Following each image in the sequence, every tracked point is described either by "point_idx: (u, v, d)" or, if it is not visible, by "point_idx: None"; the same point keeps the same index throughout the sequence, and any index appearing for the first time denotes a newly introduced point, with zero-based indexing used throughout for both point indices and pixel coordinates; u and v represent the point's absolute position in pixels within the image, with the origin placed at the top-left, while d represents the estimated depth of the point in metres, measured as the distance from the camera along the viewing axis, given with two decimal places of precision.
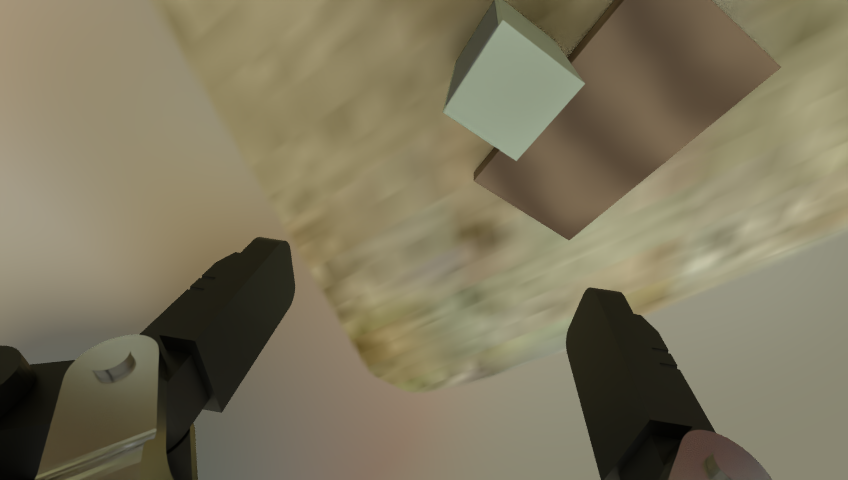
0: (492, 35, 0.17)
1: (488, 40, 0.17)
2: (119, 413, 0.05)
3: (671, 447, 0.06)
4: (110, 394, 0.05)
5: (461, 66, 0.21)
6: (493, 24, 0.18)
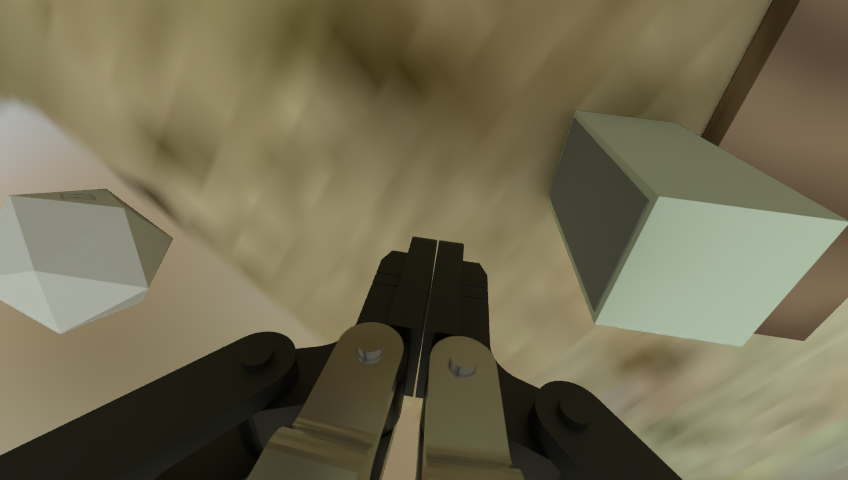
0: (645, 217, 0.10)
1: (640, 224, 0.11)
2: (358, 398, 0.06)
3: None
4: (359, 376, 0.06)
5: (578, 227, 0.15)
6: (625, 187, 0.12)
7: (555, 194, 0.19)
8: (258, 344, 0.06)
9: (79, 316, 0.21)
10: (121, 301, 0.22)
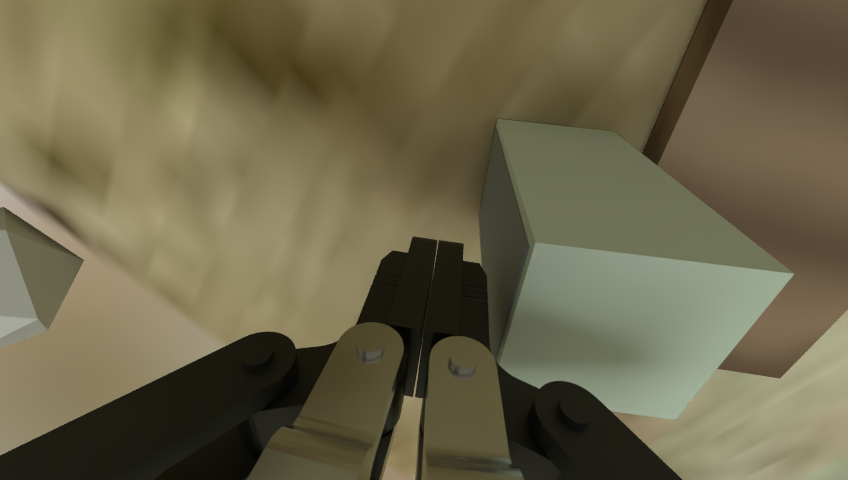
0: (526, 268, 0.08)
1: (521, 276, 0.08)
2: (358, 398, 0.06)
3: None
4: (359, 376, 0.06)
5: (489, 262, 0.13)
6: (516, 221, 0.09)
7: (481, 216, 0.17)
8: (258, 344, 0.06)
9: None
10: (5, 334, 0.20)
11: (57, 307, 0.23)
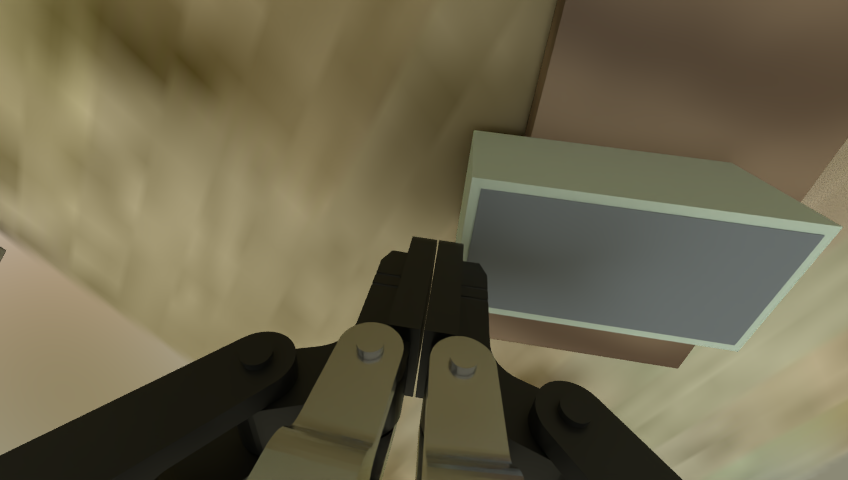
0: (818, 249, 0.10)
1: (809, 257, 0.10)
2: (358, 398, 0.06)
3: None
4: (358, 375, 0.06)
5: (630, 302, 0.12)
6: (760, 235, 0.10)
7: (494, 294, 0.12)
8: (258, 344, 0.06)
9: None
10: None
11: None
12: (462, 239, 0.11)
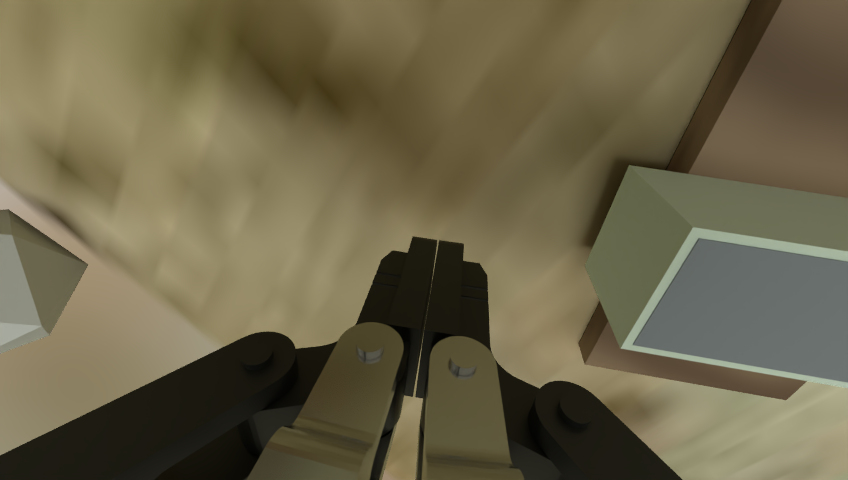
0: None
1: None
2: (358, 398, 0.06)
3: None
4: (359, 375, 0.06)
5: (821, 351, 0.12)
6: None
7: (674, 338, 0.12)
8: (258, 344, 0.06)
9: None
10: (8, 341, 0.19)
11: (60, 312, 0.23)
12: (659, 285, 0.11)
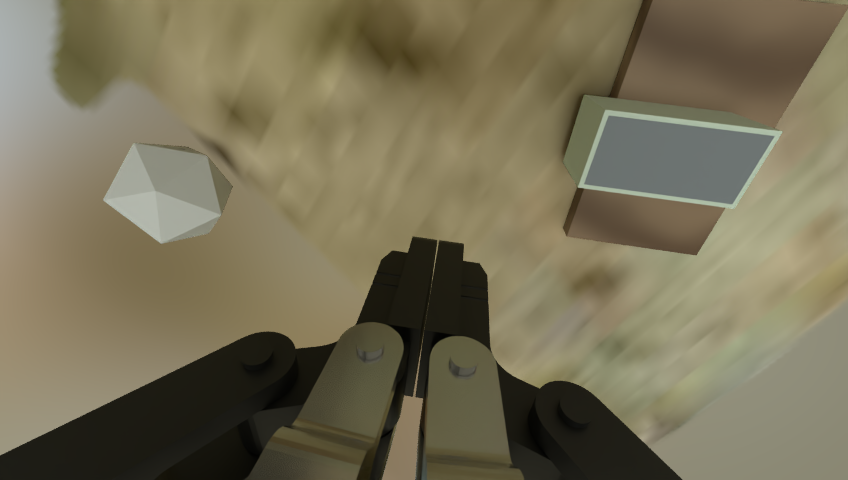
0: (772, 144, 0.21)
1: (768, 148, 0.21)
2: (358, 398, 0.06)
3: None
4: (359, 376, 0.06)
5: (678, 179, 0.23)
6: (744, 137, 0.21)
7: (605, 177, 0.23)
8: (258, 344, 0.06)
9: (175, 231, 0.30)
10: (202, 223, 0.30)
11: None
12: (593, 144, 0.22)
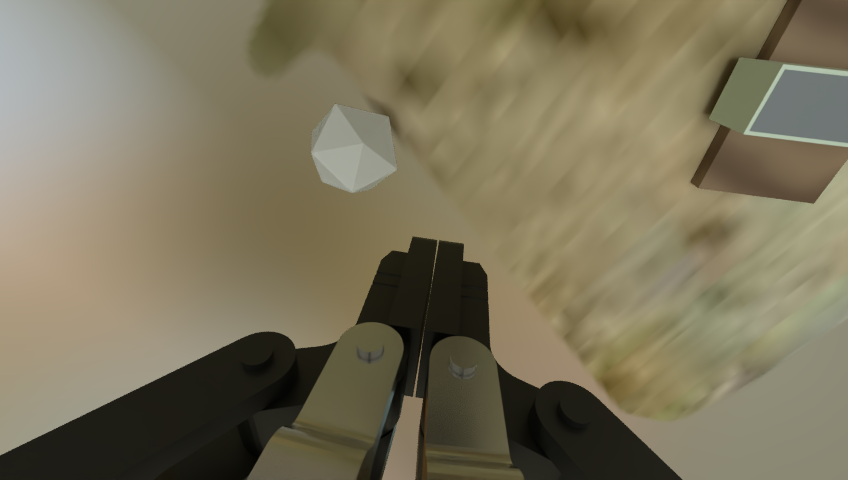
0: None
1: None
2: (358, 398, 0.06)
3: None
4: (359, 376, 0.06)
5: (834, 125, 0.27)
6: None
7: (769, 124, 0.27)
8: (258, 344, 0.06)
9: (364, 182, 0.34)
10: (383, 176, 0.35)
11: None
12: (765, 95, 0.27)
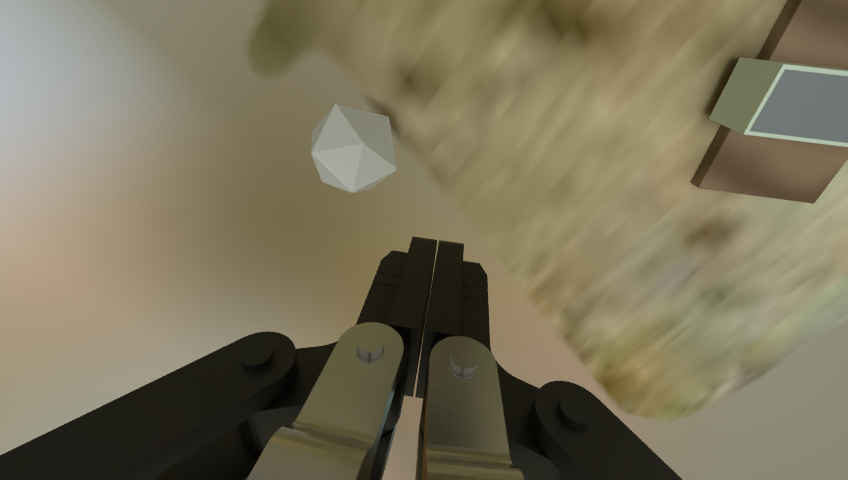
0: None
1: None
2: (358, 398, 0.06)
3: None
4: (358, 375, 0.06)
5: (834, 125, 0.27)
6: None
7: (769, 124, 0.27)
8: (258, 344, 0.06)
9: (364, 182, 0.34)
10: (383, 176, 0.35)
11: None
12: (766, 95, 0.27)
